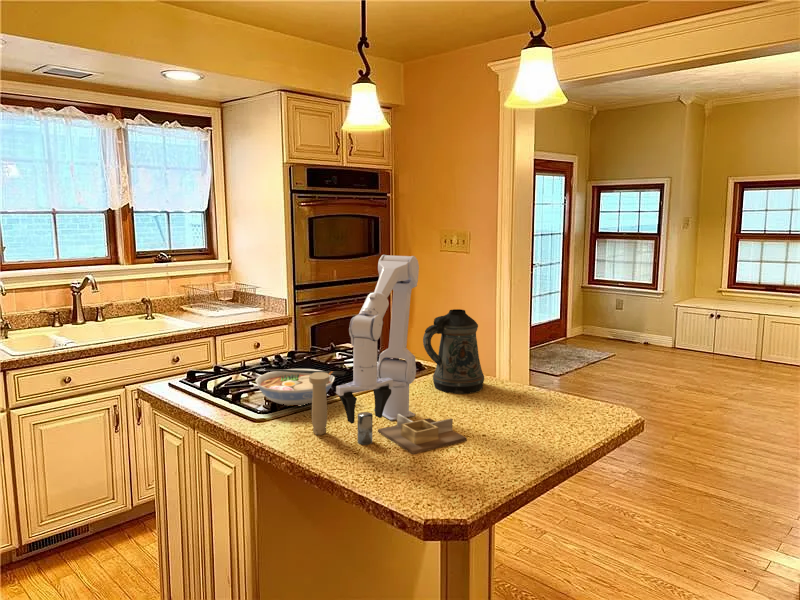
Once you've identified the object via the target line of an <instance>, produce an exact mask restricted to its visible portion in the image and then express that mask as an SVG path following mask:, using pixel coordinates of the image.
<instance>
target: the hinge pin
mask: <svg viewBox="0 0 800 600" xmlns="http://www.w3.org/2000/svg"><path fill="white" fill-rule="evenodd" d="M373 418H374V417H373V413H372V412H369V411H365V412H364V411H363V412H358V413H357V444H358V445H361V446H369V445H372V444H373Z"/></svg>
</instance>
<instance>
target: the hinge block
mask: <svg viewBox="0 0 800 600" xmlns="http://www.w3.org/2000/svg"><path fill="white" fill-rule="evenodd" d="M378 432H379V434H380V433H381V434H380V435H382V436H383V435H384V436H383V437H385V438H386V439H388V440H390V441H391V442H393V443H395V444H396V445H397V446H399V447H401V448H402V449H404V450H406V451H407V452H409V453H410V454H411V455H414V454H419V453H424V452H426V451H430V450H435V449H439V448H442V447H443V448H444V447H446V446H451V445H454V444H459V443H463V442H467V440H468V439H467V438H468V437H466V436H464V435H462V434H460V433H458V432H456V431H454V430H453V418H447V419H442V420H437V421H435V420H434V419H432V418H430V417H428V418H424V419H418V420H415V421H413V420H411V419H409V417H404V416H402V415H400V414H397V420H396V425H391V426H387V427H382V428H378V429H377V433H378Z"/></svg>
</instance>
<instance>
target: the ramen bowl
mask: <svg viewBox="0 0 800 600" xmlns="http://www.w3.org/2000/svg"><path fill="white" fill-rule="evenodd" d="M264 371H268V372H266V373H264V374H261V375H259V376H258V377H257V378H256V379H255V383H256V385H257V386H258V387H257V388H258V389H259V391H260V392H261V393H262V394H263V396H264V397H265V398H266V399H268V400H270V401H271V400H272V401H271V402H274V403H276V404H279V405H283V404H284V405H283V406H285V405H304V404H307V405H308V403H309V404H312V396H313V384H312V383H310V382H309V376H310V374H312V373H315V372H325V373H328V374H329V382H328V383H327V384H326V394H327V393H328V392H329V391H330V389H331V388H332V386H333V383H334V381H335V379H336V377H335V376H338V377H339V376H340V377H343V376H344V375H346V371H330V370H329V371H328V370H326V371H325V370H321V369H313V368H288V369H279V368H278V369H275V368H265V369H264ZM269 371H270V372H269Z"/></svg>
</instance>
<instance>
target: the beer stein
mask: <svg viewBox="0 0 800 600" xmlns="http://www.w3.org/2000/svg"><path fill="white" fill-rule="evenodd" d="M448 311H449V312H448V313H447V314H445V315H440V316H437V317H434V318H433V324H431V325H429V326H428V327H426V329H425V331H424V334H423V337H422V342H423V343H422V344H423V348H424V351H425V352H426V354H427V355H428V356H429V358H430V359H431V360H432V361H433V362H434V363H435V364H436V366H435V370H434V372H433V374H432V380H433V385H434V388H435V389H436V390H437V391H440V392H443V393H447V394H455V395H469V394H476V393H478V392H481V390H483V386H484V382H485V374H484V373H483V372H484V371H483V370H482V366H481V362H480V360H481V359H480V355H479V348H478V339H477V331H478V329H479V324H478V323H477V321H476V320H475V319H473V318H472V317H471V316H469V315H468V314H467V313H466V310H465V309H460V308H459V309H458V308H457V309H455V308H454V309H449V310H448ZM436 334H437V335H439V334H440V335H441V336H440V341H439V346H438V354H437V352H436V351H435V349H434V348H433V345H432V338H433V336H434V335H436Z"/></svg>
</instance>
